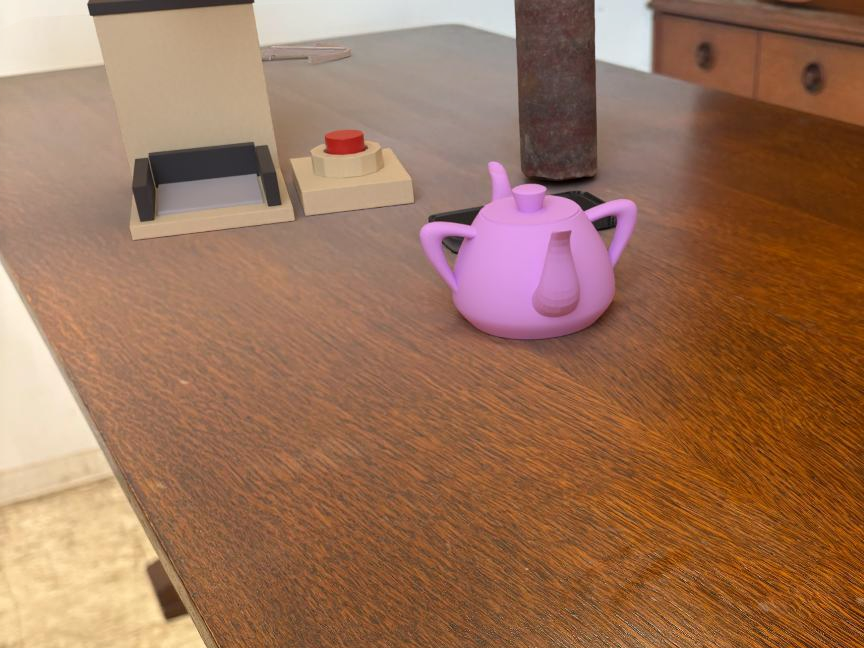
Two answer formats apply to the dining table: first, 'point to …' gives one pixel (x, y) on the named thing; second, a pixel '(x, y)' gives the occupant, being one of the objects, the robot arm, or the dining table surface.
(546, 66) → the rusty brown block
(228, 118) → the coffee maker
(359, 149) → the brew button
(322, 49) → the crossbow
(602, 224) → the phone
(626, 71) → the dining table surface
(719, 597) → the dining table surface
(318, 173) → the control block
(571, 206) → the teapot
